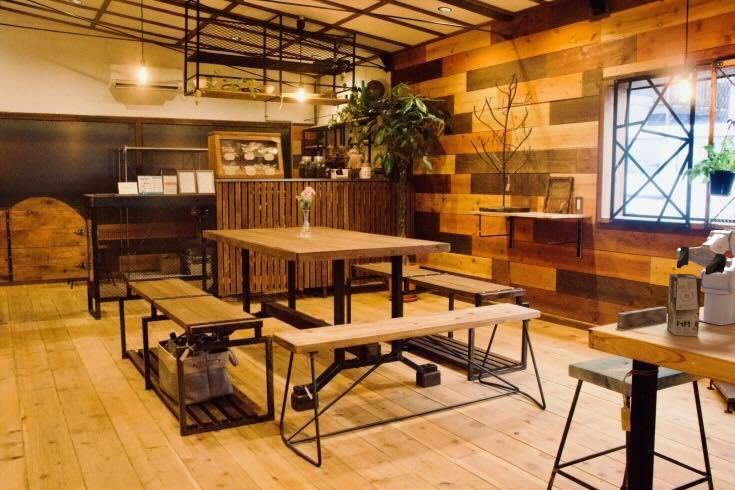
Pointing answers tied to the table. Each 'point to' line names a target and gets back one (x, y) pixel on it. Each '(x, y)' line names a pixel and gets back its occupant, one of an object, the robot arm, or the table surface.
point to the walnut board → (641, 317)
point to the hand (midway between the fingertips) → (692, 268)
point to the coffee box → (684, 304)
